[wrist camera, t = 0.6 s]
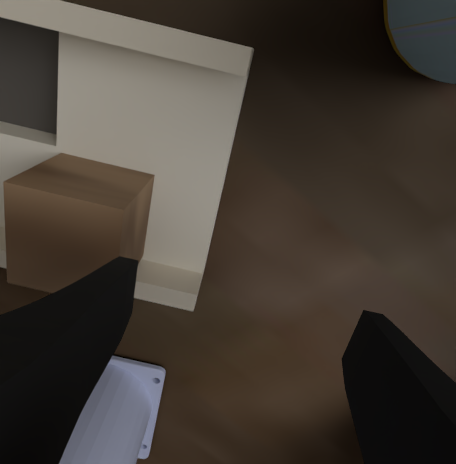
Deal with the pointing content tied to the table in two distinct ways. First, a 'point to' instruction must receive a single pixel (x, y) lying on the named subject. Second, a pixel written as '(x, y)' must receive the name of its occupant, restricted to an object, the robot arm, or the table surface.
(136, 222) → the block
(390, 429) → the robot arm
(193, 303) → the trap lane
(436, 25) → the bottle
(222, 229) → the table surface
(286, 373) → the table surface
